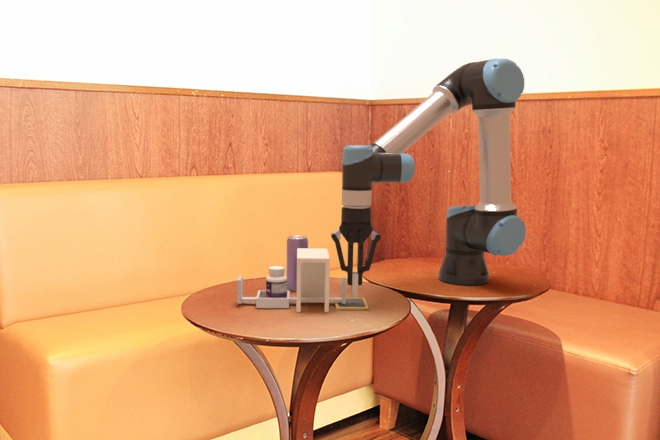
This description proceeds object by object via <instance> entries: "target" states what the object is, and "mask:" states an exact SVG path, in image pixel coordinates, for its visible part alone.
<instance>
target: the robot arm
mask: <svg viewBox="0 0 660 440" xmlns="http://www.w3.org/2000/svg"><path fill="white" fill-rule="evenodd" d="M524 90H525V76H524V73H523V71H522V69H521V68H520V66H519V65H517V63H516V62H514V61H513V60H512V59H508V58H492V59H491V58H490V59H486V60H480V61H474V62H468V63H465V64H463V65H462V66H459V67H458V68H455V70H454V71H453V72H451V73H449V74H448V75H447V76H446V77H445V78H443V79H442V80H441V81H440V82H438V83H437V85H435V86H434V87H433V89H432V93H431V94H430V95H428V96H427V97H426V98H425V99H424V100H422V102H421V103H419V104H418V105H417V106H416V107H415V108H413V109H411V111H410V112H409V113H407V114H406V115H405V116H404V117H402V118H401V119H400V120H399V121H398V122H396V124H394V125H393V126H391V128H390V129H388V130H387V131H386V132H385V133H384V134H382V135H381V136H380V137H379V138H378V139H377V140H375V141H374V142H373V143H372V144H370V145H362V144H361V145H355V144H354V145H353V144H352V145H351V144H350V145H346V146H344V148H343V151H342V158H341V159H342V161H341V165H342V166H341V167H342V171H341V172H342V173H341V174H342V175H341V178H342V181H341V205H342V207H341V217H340V218H341V220H340V222H341V223H340V225H339V229H338V230H336V231H334V232H331V233H330V237H331V239H332V240H333V242H334V244H335V247H336V253H337V257H338V262H339V266H340V269H341V271H343V272H346V273H347V279H346V284H347V285H348V286H351V289H350V290H351V292H350V295H351V297H350V298H352V299H358V298H359V297H358V295H359V286H363V274H364V272H369V271H370V269H371V266H372V262H373V259H374V255H375V251H376V248H377V244H378V243H379V241H380V239H381V238H382V235H381V234H380V233H378V232H376V231H374V229H373V226H372V208H371V205H372V199H373V198H372V193H373V192H372V188H373V184H376V183H386V184H387V183H399V184H401V183H407V182H408V183H409V182H410V181H412V179H413V178H414V176H415V172H416V163H415V160H414V158H413V156H412V155H410V154H409V153H405V152H406V151H407V150H408V149H409V148H411V146H413V145H414V144H415V143H417V142H418V141H419V140H420V139H421V138H423V136H425V135H426V134H427V133H428V132H430V131H431V130H432V129H433V128H434V127H435V126H436V125H438V124H439V123H440V122H441V121H442V120H444V119H445V118H446V117H447V116H448V115H449V114H453V115H454V114H456V113H457V112H458V111H459V110H460V109H462V108H465V107H467V106H471V110H472V113H474V114H475V115H476V116H477V122H478V123H477V127H478V128H477V129H478V132H477V133H478V173H479V175H478V176H479V177H478V178H479V180H478V181H479V202H478V203H477V205H455V206H453V205H452V206H449V208H448V209H447V213H446V218H445V220H446V223H445V225H446V227H445V228H446V229H445V251H444V253H445V254H444V257H443V260H442V262H441V265H440V268H439V271H438V280H439V281H442V282H444V283H448V284H452V285H453V284H454V285H461V286H462V285H463V286H476V285H477V286H478V285H485V284H488V283H489V282H490V281H489V280H490V274H489V269H488V266H487V262H486V258H485V253H488V254H491V255H493V256H501V257H507V256H511V255H513V254H514V253H516V252H517V251H518V250H519V249H520V247H521V246H522V245H523V244H524V242H525V238H526V235H527V227H526V224H525V221H523V220H522V218H520V217H519V216H518V206H517V205H516V204H515V203H514V202H513V201H512V178H511V177H512V174H511V171H512V169H511V168H512V167H511V165H512V163H511V161H512V160H511V159H512V158H511V157H512V155H511V114H512V113H513V112H514V111H515V110H516V107H517V105H516V103H517V102H516V101H517V100H519V98H521V96H522V94H523V93H524ZM341 235H342V237H343V238H344V240H345V241H346V242H347V265H346V263H345V260H344V254H343V250H342V246H341V242H340V240H341V238H342V237H341ZM369 237H370V239H371V241H370V243H369V244H370V245H369V248H368V252H367V255H366V259H365V262H364V245H365V244H364V243H366V241H367V239H369ZM354 244H357V259H356V260H357V262H356V263H357V264H356V270H357V271H354ZM487 282H488V283H487Z"/></svg>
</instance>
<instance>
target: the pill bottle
mask: <svg viewBox="0 0 660 440" xmlns="http://www.w3.org/2000/svg"><path fill="white" fill-rule="evenodd" d="M285 269H286V268H285V267H284V266H280V265H273V266H269V267H268V273H269V275H267V276H266V278H265V290H266V298H287V291H288V289H287V275H285V272H286V271H285Z"/></svg>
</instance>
